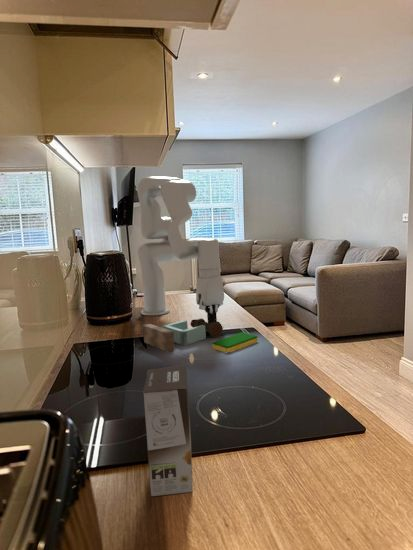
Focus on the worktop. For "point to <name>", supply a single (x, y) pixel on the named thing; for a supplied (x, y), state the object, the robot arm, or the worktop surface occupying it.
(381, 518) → the worktop surface
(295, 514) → the worktop surface
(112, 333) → the worktop surface
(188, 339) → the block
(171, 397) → the coffee box
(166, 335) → the wooden plank
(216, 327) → the bolt
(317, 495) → the worktop surface
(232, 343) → the dish sponge
